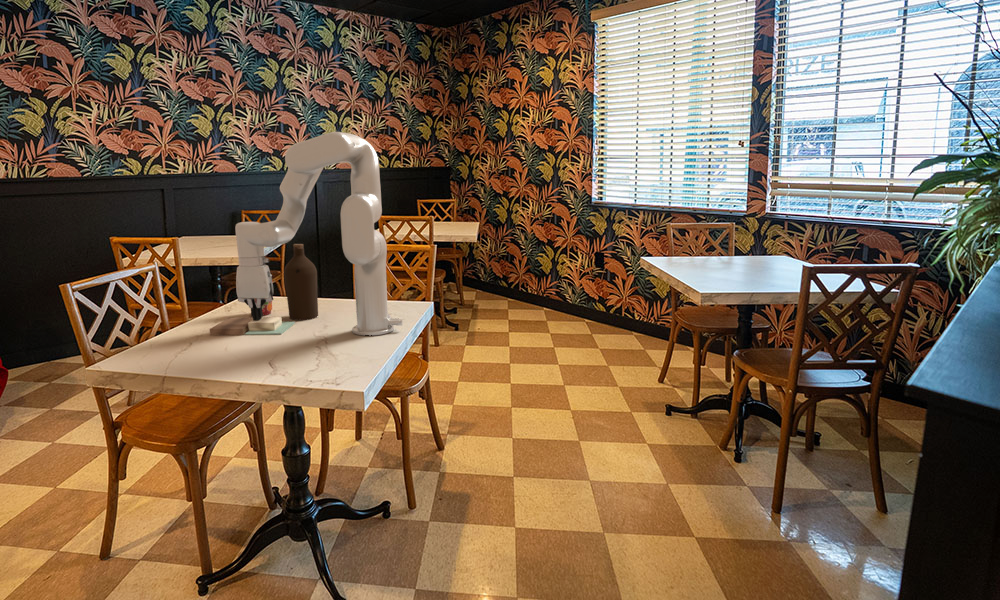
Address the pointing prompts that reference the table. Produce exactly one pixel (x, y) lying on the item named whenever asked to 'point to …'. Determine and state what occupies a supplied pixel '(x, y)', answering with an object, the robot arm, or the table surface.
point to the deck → (231, 327)
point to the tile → (265, 324)
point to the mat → (272, 332)
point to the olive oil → (301, 286)
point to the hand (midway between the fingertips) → (257, 319)
